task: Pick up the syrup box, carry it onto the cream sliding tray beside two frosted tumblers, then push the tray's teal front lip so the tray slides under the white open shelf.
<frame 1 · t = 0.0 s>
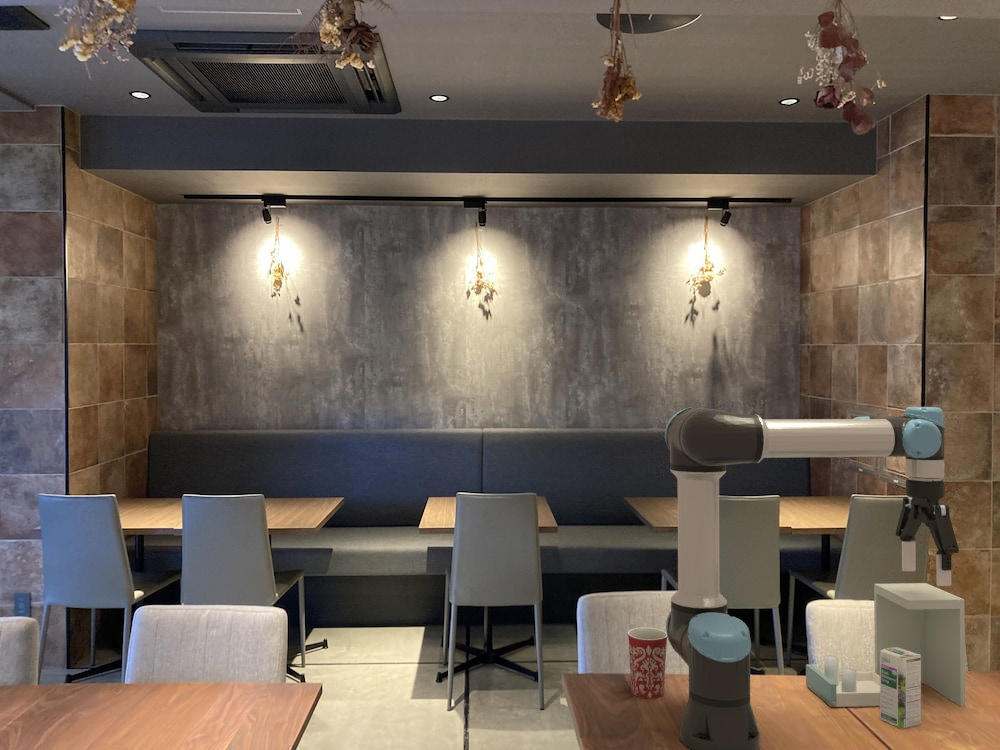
hand: (925, 578, 180), 28 cm above the table, fingers open, 13 cm apart
syrup box: (900, 723, 173), on the table
tray: (853, 679, 188), point 4 cm above the table, slide at 0.0 cm
white open shelf: (918, 694, 189), on the table
mug: (646, 690, 192), on the table
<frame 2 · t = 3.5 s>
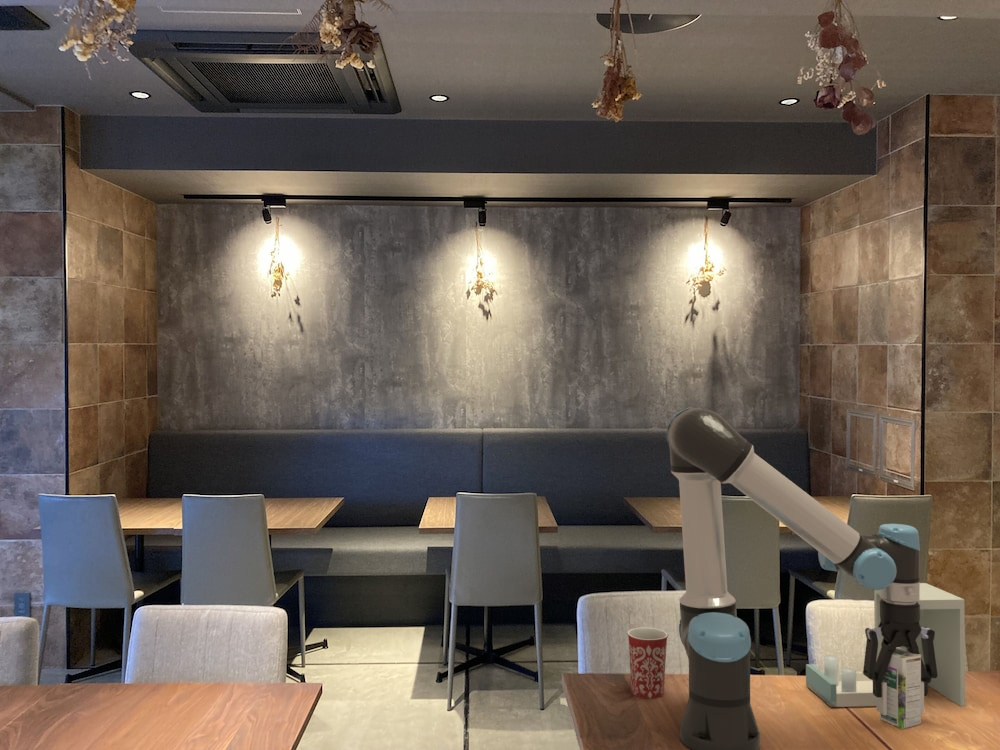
hand: (900, 711, 173), 2 cm above the table, fingers closed on syrup box, 7 cm apart
syrup box: (900, 723, 173), on the table, touching gripper
everything else where it was.
when the fingers open (5 cm above the table, at t = 9.3 s): syrup box drops 2 cm, resting on tray.
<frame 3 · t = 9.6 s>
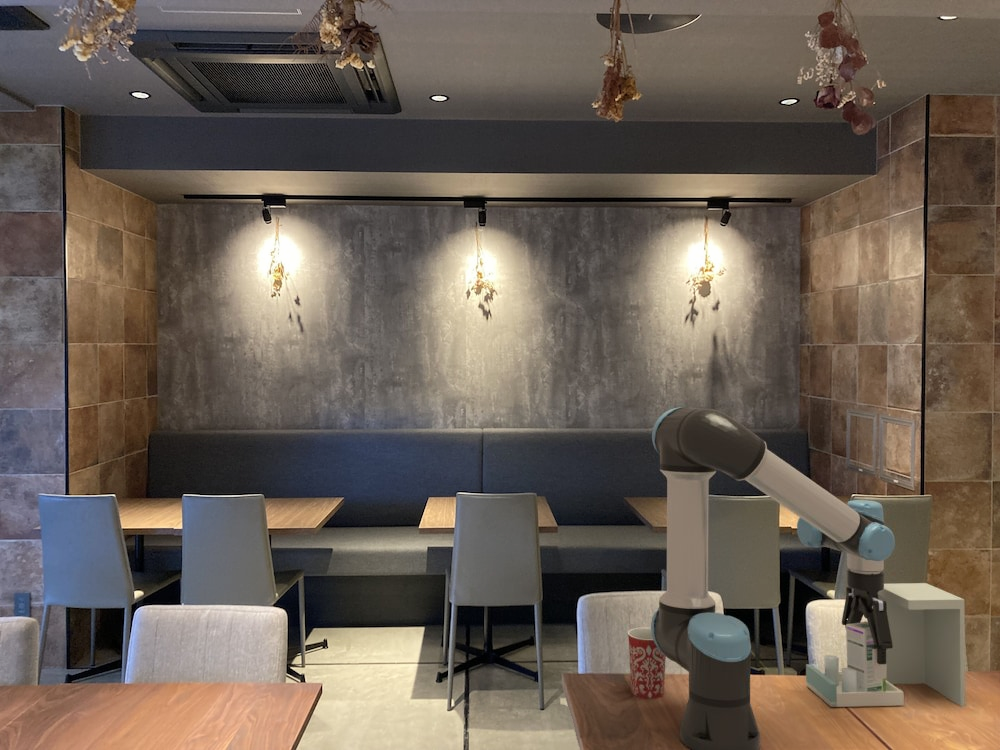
hand: (866, 668, 188), 6 cm above the table, fingers open, 11 cm apart
syrup box: (866, 690, 188), point 1 cm above the table, touching tray
tray: (853, 679, 188), point 4 cm above the table, slide at 0.0 cm, touching syrup box
everything else where it was.
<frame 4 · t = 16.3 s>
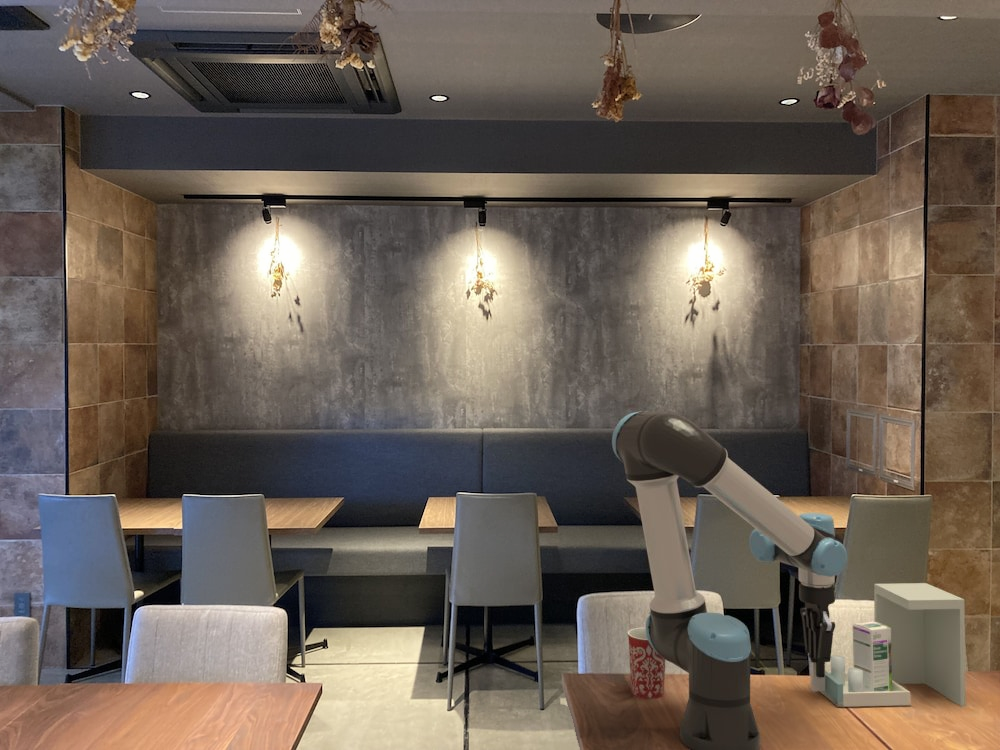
hand: (817, 689, 187), 2 cm above the table, fingers closed
syrup box: (872, 690, 188), point 1 cm above the table, touching tray
tray: (859, 679, 188), point 4 cm above the table, slide at 1.5 cm, touching gripper, syrup box
everything else where it was.
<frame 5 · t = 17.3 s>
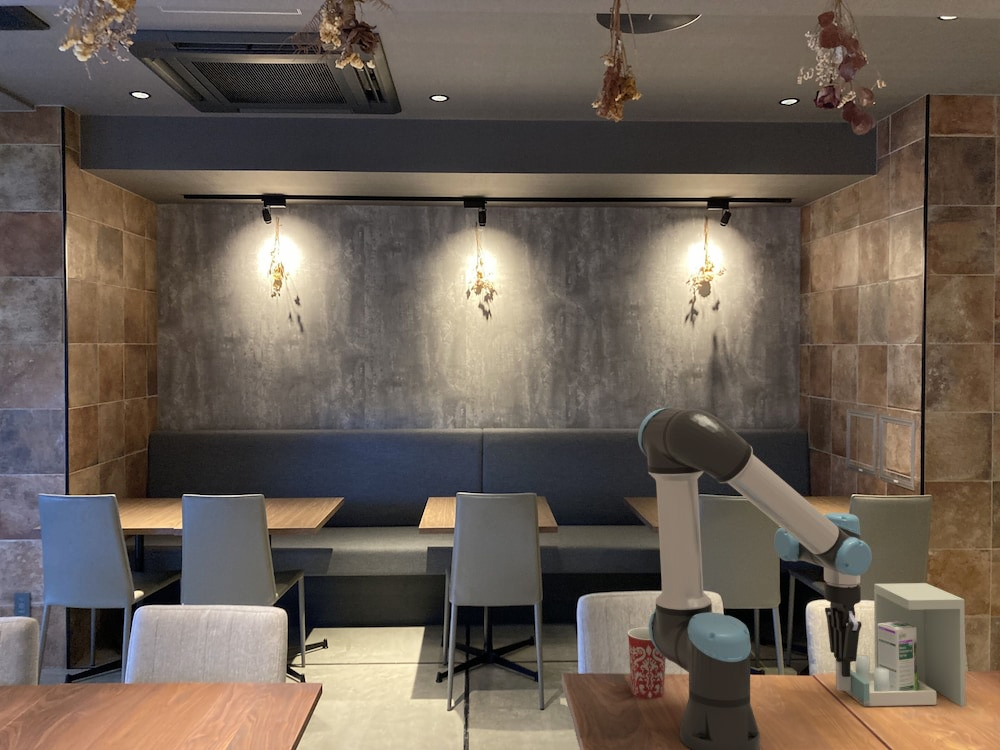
hand: (843, 689, 188), 2 cm above the table, fingers closed
syrup box: (897, 690, 188), point 1 cm above the table, touching tray
tray: (885, 678, 188), point 4 cm above the table, slide at 7.3 cm, touching gripper, syrup box
everything else where it was.
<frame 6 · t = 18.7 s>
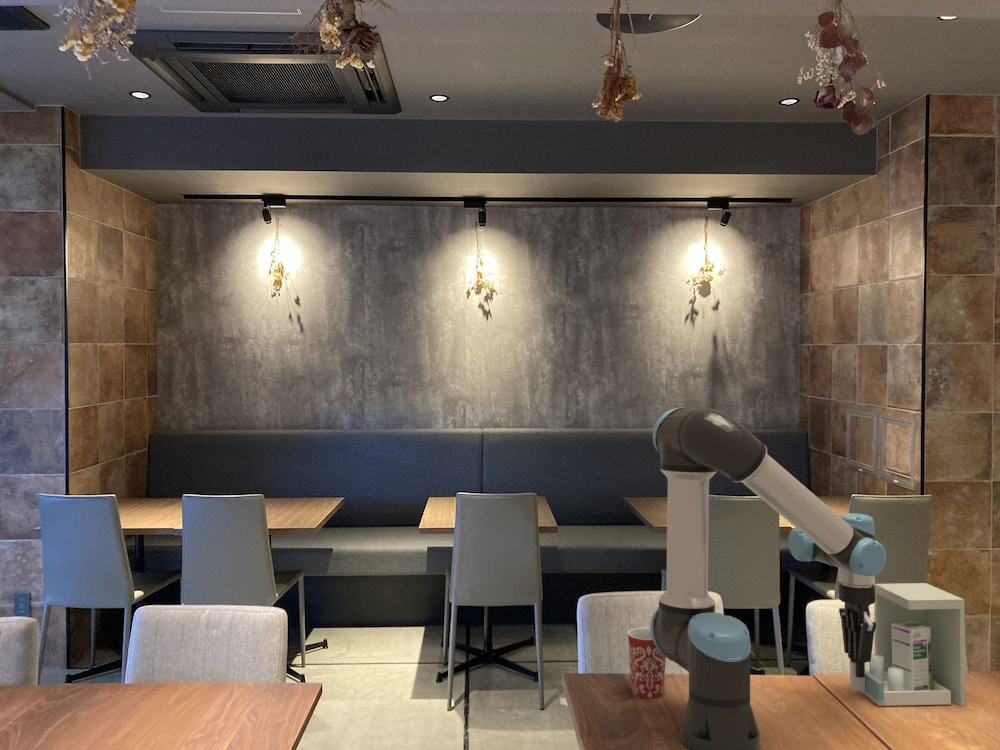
hand: (857, 689, 188), 1 cm above the table, fingers closed
syrup box: (911, 689, 189), point 1 cm above the table, touching tray
tray: (899, 678, 188), point 4 cm above the table, slide at 10.5 cm, touching syrup box
everything else where it was.
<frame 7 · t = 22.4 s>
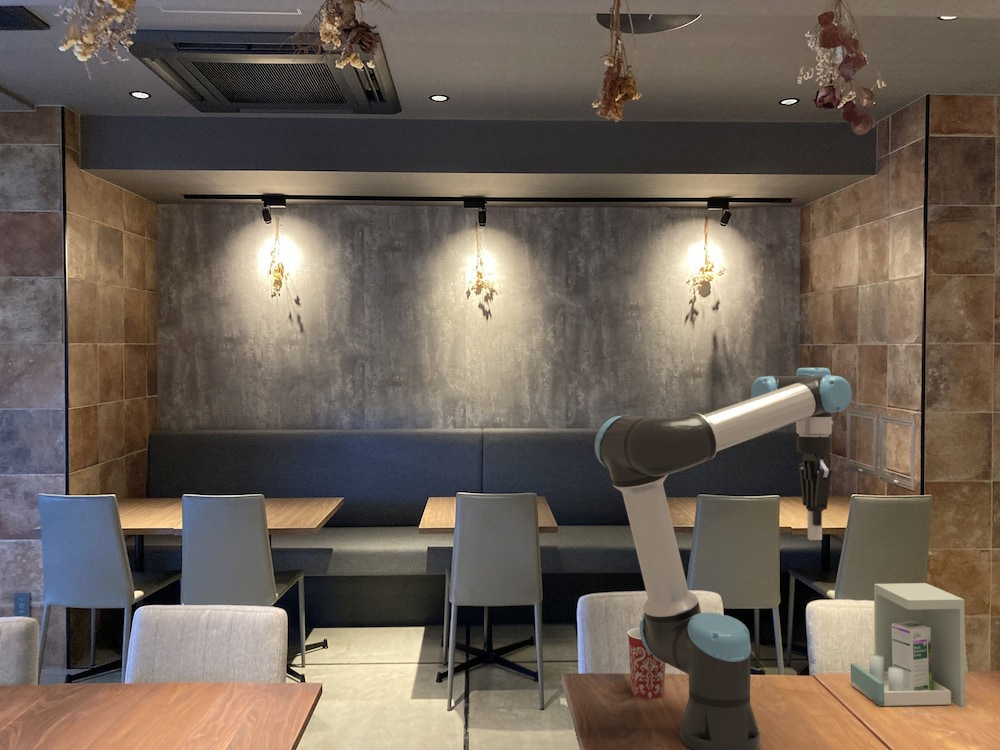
hand: (814, 539, 191), 34 cm above the table, fingers closed
nothing on the table moved.
at the end: tray slide at 10.5 cm; syrup box inside the target area (1.0 cm from its centre), point 1.1 cm above the table; syrup box tilted 0° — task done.
